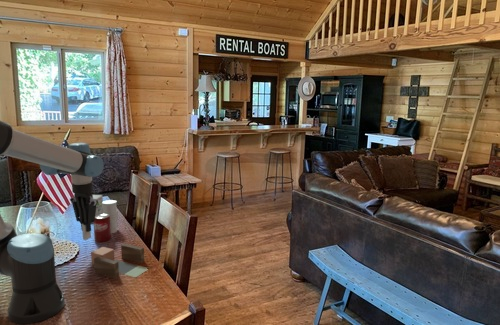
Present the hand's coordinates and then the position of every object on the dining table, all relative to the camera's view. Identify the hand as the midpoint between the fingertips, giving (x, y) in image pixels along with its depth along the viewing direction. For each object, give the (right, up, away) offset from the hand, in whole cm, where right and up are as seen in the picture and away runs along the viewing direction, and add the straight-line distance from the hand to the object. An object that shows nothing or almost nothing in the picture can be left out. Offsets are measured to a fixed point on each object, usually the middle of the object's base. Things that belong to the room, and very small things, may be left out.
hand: (87, 238), depth 148 cm
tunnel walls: (+16, -10, -6) cm, 20 cm away
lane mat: (+15, -10, -5) cm, 19 cm away
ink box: (-20, +1, +53) cm, 57 cm away
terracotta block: (+8, -9, -2) cm, 12 cm away
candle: (-2, -3, +32) cm, 33 cm away
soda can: (-1, -6, +20) cm, 21 cm away
